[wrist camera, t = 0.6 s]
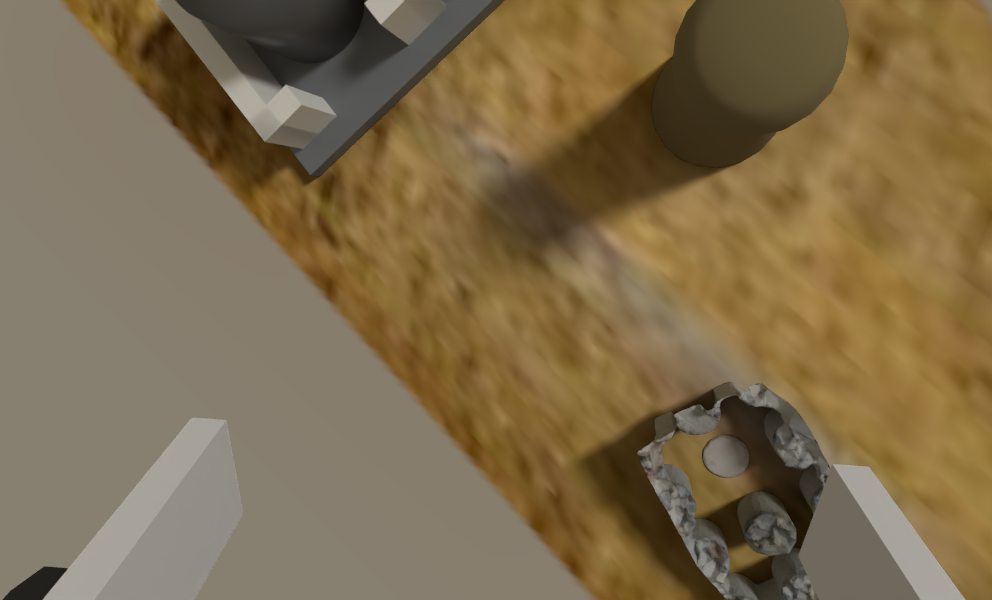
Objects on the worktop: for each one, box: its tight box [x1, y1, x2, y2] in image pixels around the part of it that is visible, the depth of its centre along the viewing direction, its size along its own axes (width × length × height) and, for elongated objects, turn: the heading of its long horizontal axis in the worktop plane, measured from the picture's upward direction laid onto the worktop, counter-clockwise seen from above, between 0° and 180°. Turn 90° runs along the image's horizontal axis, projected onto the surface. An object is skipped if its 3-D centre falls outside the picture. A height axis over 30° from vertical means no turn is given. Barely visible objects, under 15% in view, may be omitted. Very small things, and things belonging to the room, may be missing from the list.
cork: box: [651, 0, 849, 168], centre depth 23 cm, size 6×6×11 cm
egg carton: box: [638, 382, 830, 600], centre depth 29 cm, size 11×8×4 cm
